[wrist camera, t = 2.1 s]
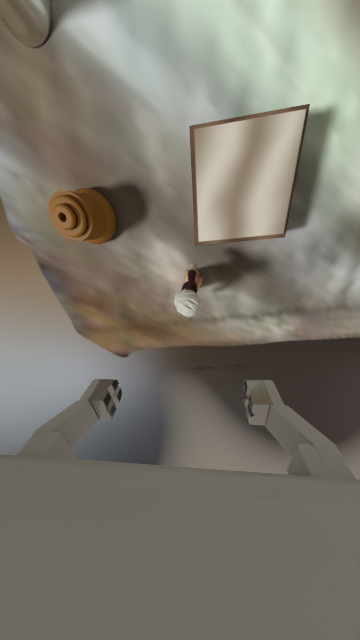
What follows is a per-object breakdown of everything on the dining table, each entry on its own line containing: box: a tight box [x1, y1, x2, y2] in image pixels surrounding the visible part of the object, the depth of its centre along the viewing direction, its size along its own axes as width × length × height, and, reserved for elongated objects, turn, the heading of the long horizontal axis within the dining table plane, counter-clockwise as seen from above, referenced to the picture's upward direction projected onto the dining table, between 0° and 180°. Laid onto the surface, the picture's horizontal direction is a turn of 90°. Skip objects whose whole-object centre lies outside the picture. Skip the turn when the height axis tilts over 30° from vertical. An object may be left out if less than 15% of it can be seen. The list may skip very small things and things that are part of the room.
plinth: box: [190, 104, 310, 245], centre depth 22 cm, size 12×12×5 cm
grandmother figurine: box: [174, 263, 202, 317], centre depth 26 cm, size 8×4×13 cm, turn 1°
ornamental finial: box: [49, 188, 116, 244], centre depth 24 cm, size 8×8×8 cm
